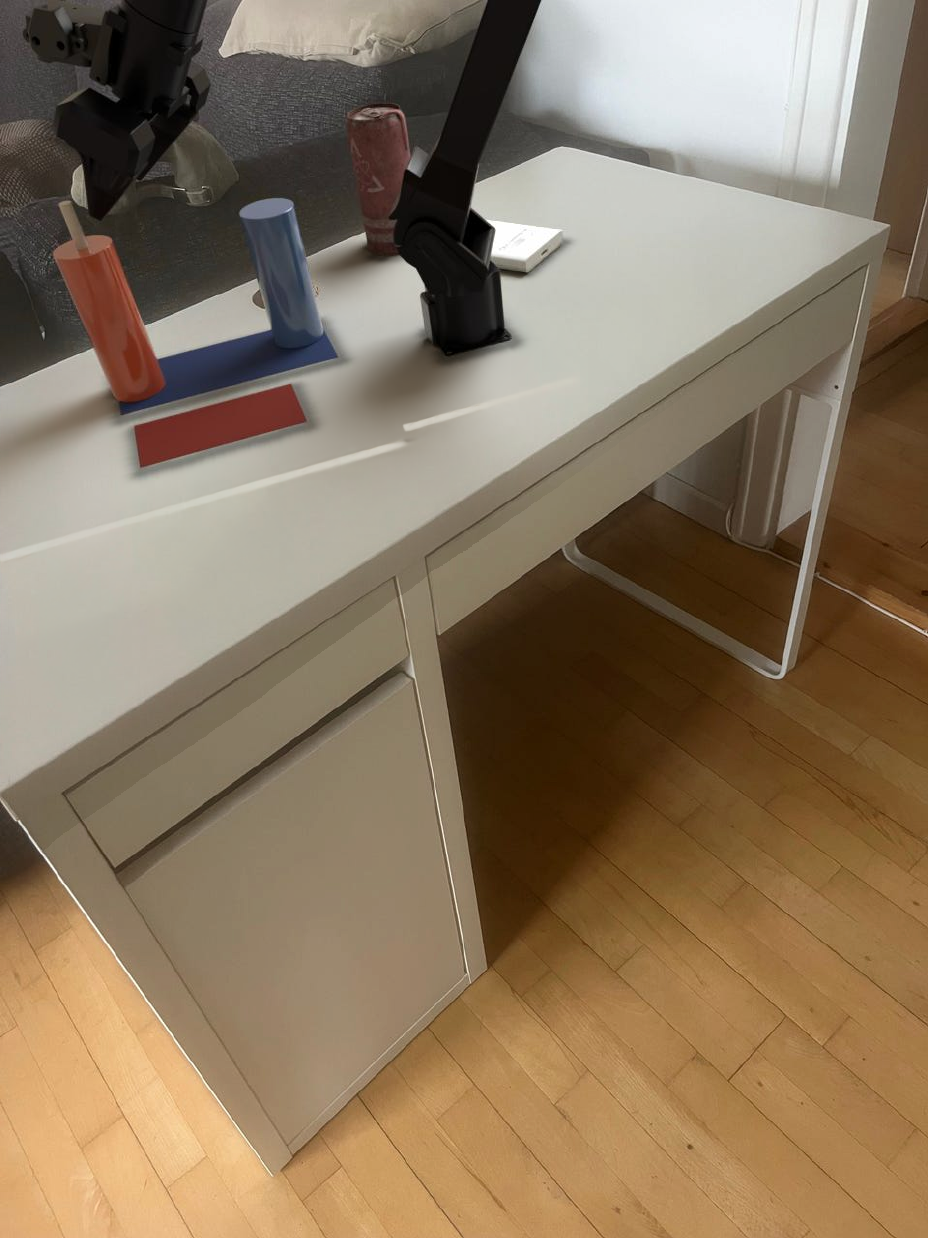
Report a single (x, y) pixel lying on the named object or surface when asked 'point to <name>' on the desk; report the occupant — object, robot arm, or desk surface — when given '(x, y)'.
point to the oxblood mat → (217, 424)
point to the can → (378, 168)
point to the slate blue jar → (282, 271)
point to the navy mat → (229, 366)
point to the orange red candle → (108, 312)
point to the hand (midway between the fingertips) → (116, 196)
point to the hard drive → (522, 245)
